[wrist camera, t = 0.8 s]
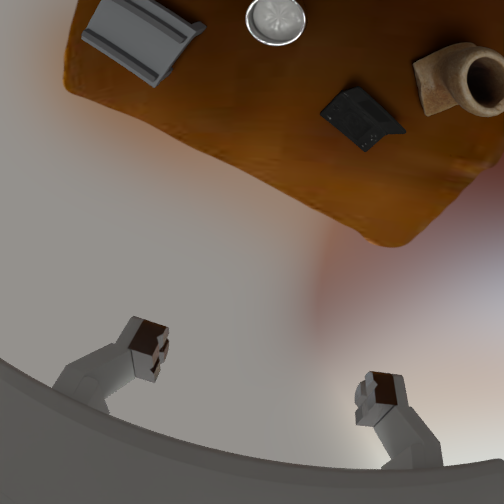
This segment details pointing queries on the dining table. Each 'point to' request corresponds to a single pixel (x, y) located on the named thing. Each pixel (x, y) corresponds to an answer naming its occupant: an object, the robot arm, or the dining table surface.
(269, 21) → the beer glass
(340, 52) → the dining table surface
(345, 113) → the dark grey angled bracket
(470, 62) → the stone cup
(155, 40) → the stand
